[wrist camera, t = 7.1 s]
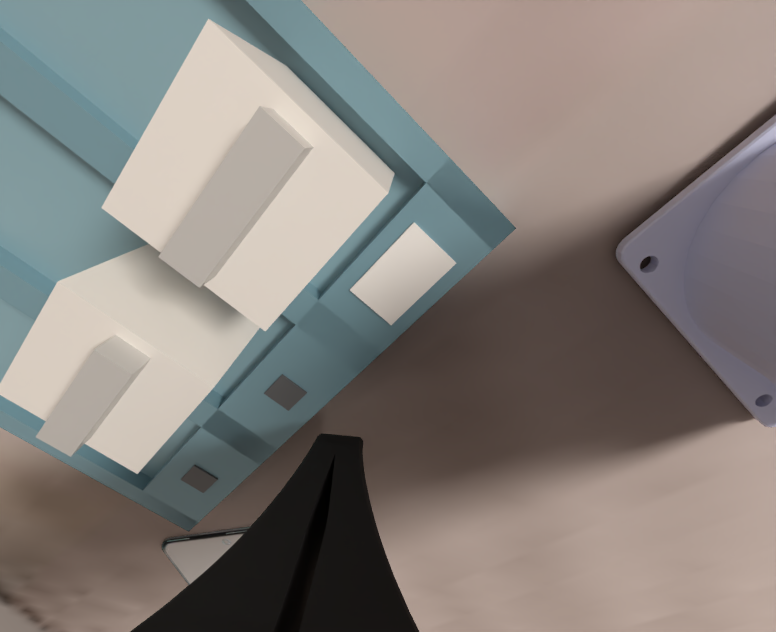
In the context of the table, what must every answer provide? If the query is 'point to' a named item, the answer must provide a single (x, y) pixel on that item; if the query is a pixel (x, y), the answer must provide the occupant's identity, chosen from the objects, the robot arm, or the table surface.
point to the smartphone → (199, 550)
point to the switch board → (112, 239)
